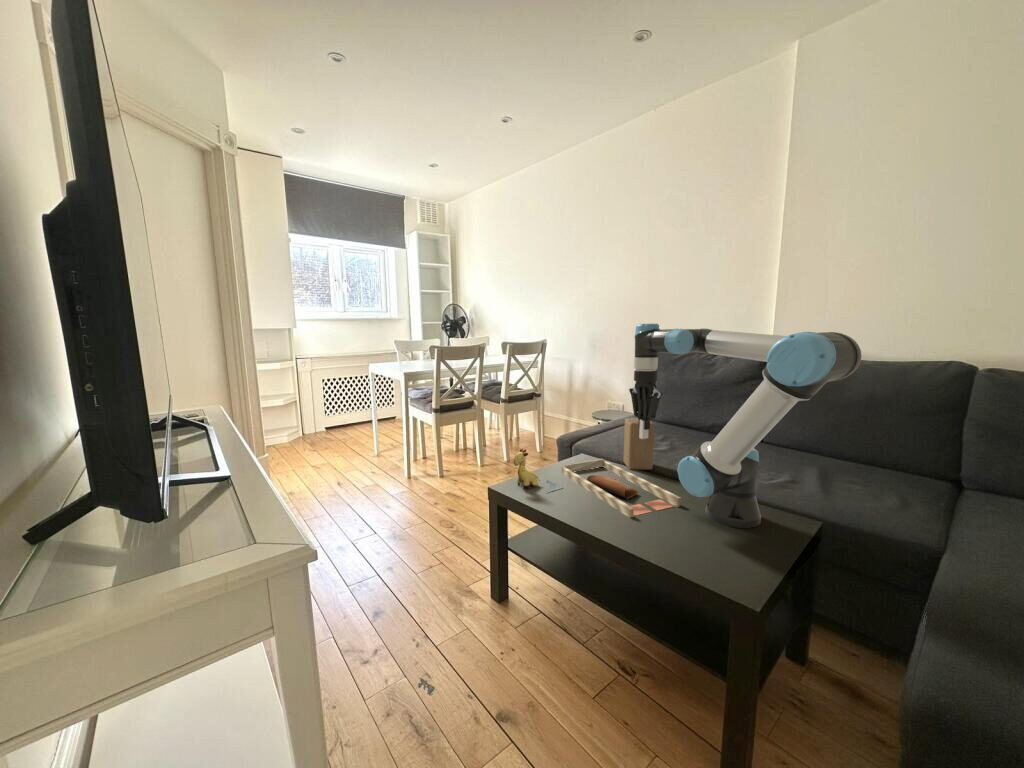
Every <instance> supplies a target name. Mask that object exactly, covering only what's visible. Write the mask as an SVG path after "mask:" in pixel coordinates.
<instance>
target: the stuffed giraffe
mask: <svg viewBox="0 0 1024 768" xmlns="http://www.w3.org/2000/svg"><path fill="white" fill-rule="evenodd" d="M518 451H519V452H517V453H516V454H515V455H514V458H513V465H514V466H515V467H518V468H517V477H518V479H517V485H518V486H519V488H520V489H526V490H527V489H530V488H532V489H536V488H537V487H538V481H539V482H541V479H540V477H539V476H538V475H537V474H536V473H535V472H533V471H532V470H531V469H530V470H529V469H527V468H526V463H527V462H526V459H527V458H526V457H528V455H529V453H528V452H527V448H522V447H521V448H520V449H519V450H518ZM537 479H538V480H537ZM545 483H546V484H548V486H549V487H548V490H545V493H546V494H547V493H551V492H554V491H558V490H561V489H563V487H562V486H560V484H557V483H555V482H552V481H549V480H546V481H545Z"/></svg>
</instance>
